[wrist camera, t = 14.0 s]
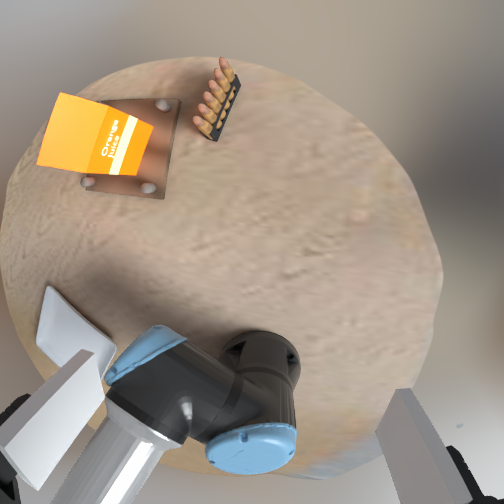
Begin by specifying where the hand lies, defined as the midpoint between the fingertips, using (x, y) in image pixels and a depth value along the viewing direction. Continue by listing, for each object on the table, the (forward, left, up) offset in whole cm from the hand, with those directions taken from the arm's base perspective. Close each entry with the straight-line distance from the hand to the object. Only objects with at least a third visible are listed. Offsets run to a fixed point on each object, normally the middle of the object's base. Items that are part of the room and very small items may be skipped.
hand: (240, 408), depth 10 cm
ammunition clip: (+20, +10, -36) cm, 43 cm away
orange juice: (+13, +26, -35) cm, 45 cm away
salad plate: (-30, +39, -37) cm, 61 cm away
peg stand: (+13, +26, -36) cm, 46 cm away
